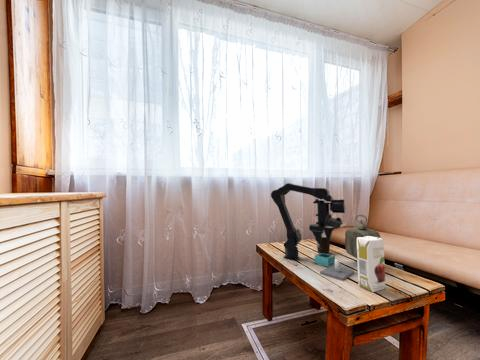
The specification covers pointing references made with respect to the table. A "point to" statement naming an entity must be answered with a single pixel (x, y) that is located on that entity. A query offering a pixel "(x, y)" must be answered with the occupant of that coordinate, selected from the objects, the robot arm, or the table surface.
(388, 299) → the table surface
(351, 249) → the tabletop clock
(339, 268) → the station
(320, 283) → the table surface
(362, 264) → the juice carton
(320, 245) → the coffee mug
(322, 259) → the teal square ring
